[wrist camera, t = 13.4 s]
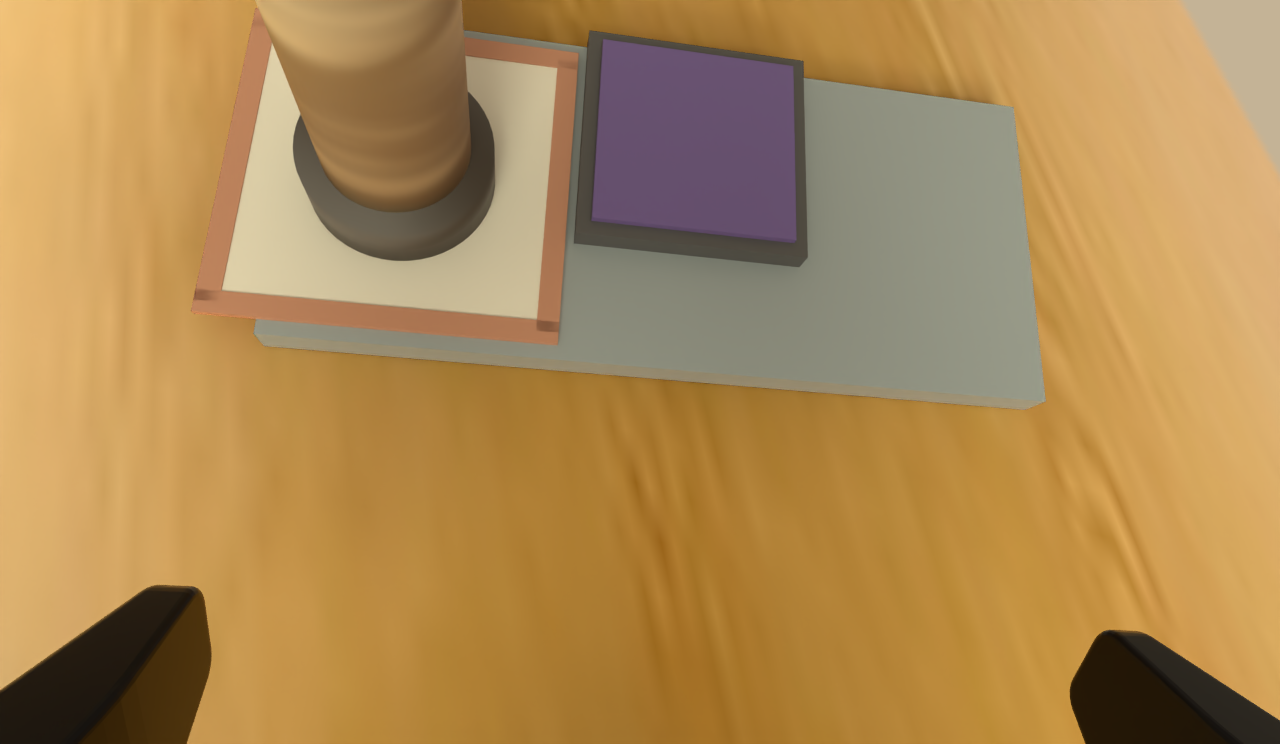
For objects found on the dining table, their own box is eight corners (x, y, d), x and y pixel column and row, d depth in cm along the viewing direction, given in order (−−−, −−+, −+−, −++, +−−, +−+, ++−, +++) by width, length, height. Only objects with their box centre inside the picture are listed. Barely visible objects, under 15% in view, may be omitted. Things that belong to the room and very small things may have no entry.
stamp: (426, 294, 22) (327, -128, 9) (267, 196, 22) (-39, -352, 9) (529, 159, 23) (559, -352, 11) (380, 68, 23) (247, -541, 11)
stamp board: (204, 341, 22) (177, 315, 20) (269, 23, 24) (251, -24, 23) (1025, 409, 25) (1065, 393, 23) (995, 123, 28) (1030, 89, 26)
